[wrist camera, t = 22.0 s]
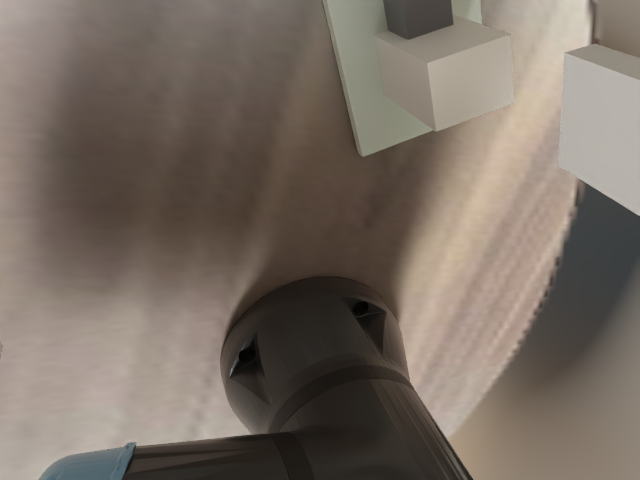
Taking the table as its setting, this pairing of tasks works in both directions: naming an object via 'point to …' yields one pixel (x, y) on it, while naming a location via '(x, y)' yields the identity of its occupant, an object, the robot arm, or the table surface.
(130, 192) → the table surface
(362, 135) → the mat
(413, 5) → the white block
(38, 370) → the table surface
